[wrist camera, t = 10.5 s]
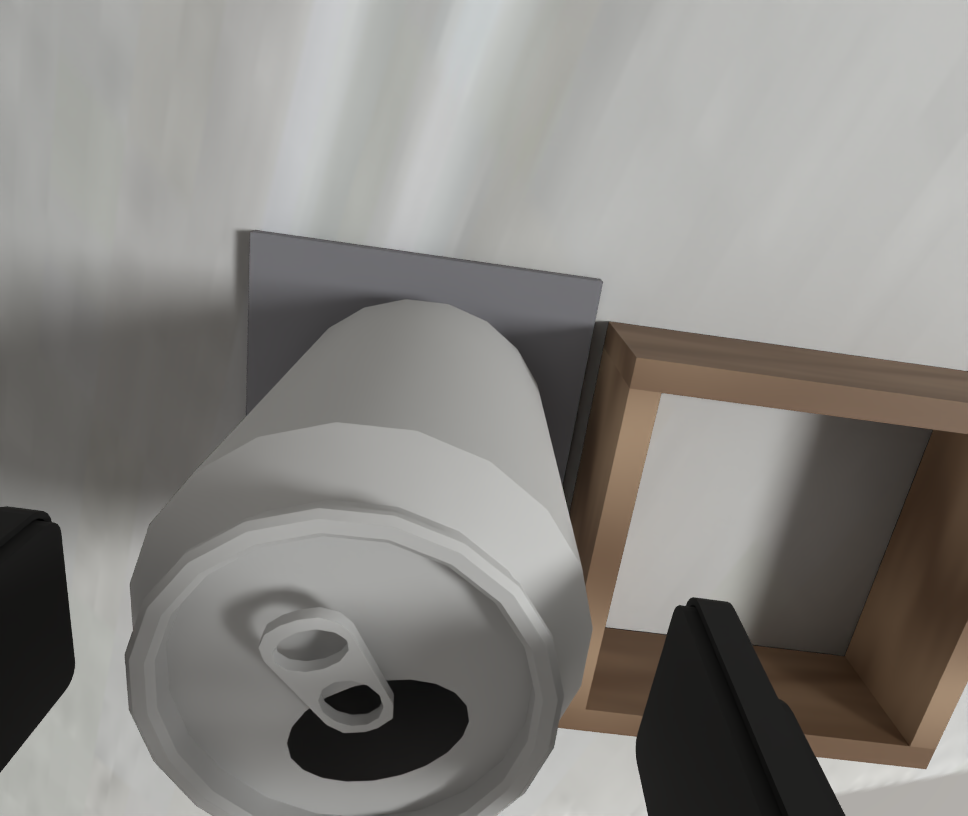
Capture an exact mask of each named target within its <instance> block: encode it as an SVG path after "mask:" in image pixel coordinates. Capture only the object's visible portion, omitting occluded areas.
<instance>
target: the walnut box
mask: <svg viewBox="0 0 968 816" xmlns="http://www.w3.org/2000/svg"><path fill="white" fill-rule="evenodd" d="M661 393H667V394H674V395H682V396H689V397H696V398H704V399H711V400H719V401H726V402H733V403H741V404H748V405H756V406H763V407H770V408H778V409H785V410H793V411H800V412H808V413H815V414H822V415H830V416H837V417H845V418H852V419H859V420H867V421H874V422H882V423H889V424H896V425H904V426H911V427H919V428H926V429H933V432H932V434H931V437H930V439H929V442H928V445H927V447H926V450H925V452H924V455H923V457H922V460H921V462H920V465H919V468H918V470H917V473H916V475H915V478H914V480H913V483H912V485H911V488H910V491H909V493H908V496H907V498H906V501H905V503H904V506H903V509H902V511H901V514H900V516H899V519H898V521H897V524H896V526H895V529H894V532H893V534H892V537H891V539H890V542H889V544H888V547H887V549H886V552H885V555H884V557H883V560H882V562H881V565H880V567H879V570H878V572H877V575H876V578H875V580H874V583H873V585H872V588H871V590H870V593H869V595H868V598H867V601H866V603H865V606H864V608H863V611H862V613H861V616H860V618H859V621H858V624H857V626H856V629H855V631H854V634H853V636H852V639H851V641H850V644H849V647H848V649H847V652H846V654H845V656H838V655H829V654H821V653H813V652H804V651H796V650H788V649H779V648H771V647H762V646H754V645H752V646H753V648H754V650H755V652H756V654H757V656H758V658H759V660H760V662H761V664H762V666H763V668H764V670H765V672H766V674H767V676H768V678H769V680H770V682H771V684H772V686H773V688H774V690H775V693H776V695H777V697H778V699H781V700H783V701H784V702H785V703H787V704H788V706H789V707H790V709H791V710H792V712H793V713H794V715H795V717H796V719H797V721H798V723H799V725H800V727H801V729H802V731H803V733H804V735H805V737H806V739H807V741H808V743H809V745H810V747H811V749H812V751H813V753H814V755H815V757H822V758H831V759H840V760H849V761H858V762H867V763H876V764H885V765H894V766H902V767H911V768H920V769H926V768H927V766H928V764H929V762H930V760H931V758H932V756H933V754H934V751H935V749H936V747H937V745H938V743H939V741H940V739H941V737H942V735H943V732H944V730H945V728H946V726H947V724H948V722H949V720H950V718H951V716H952V713H953V711H954V709H955V707H956V705H957V703H958V701H959V699H960V697H961V694H962V692H963V690H964V688H965V686H966V684H967V682H968V371H961V370H954V369H947V368H940V367H933V366H925V365H918V364H911V363H904V362H897V361H890V360H882V359H875V358H868V357H861V356H854V355H846V354H839V353H832V352H825V351H818V350H811V349H803V348H796V347H789V346H782V345H775V344H767V343H760V342H753V341H746V340H739V339H731V338H724V337H717V336H710V335H703V334H696V333H688V332H681V331H674V330H667V329H660V328H652V327H645V326H638V325H631V324H624V323H617V322H609V323H608V328H607V333H606V338H605V342H604V347H603V352H602V357H601V362H600V367H599V372H598V377H597V382H596V386H595V391H594V396H593V401H592V406H591V411H590V416H589V421H588V425H587V430H586V435H585V440H584V445H583V450H582V455H581V460H580V464H579V469H578V474H577V479H576V484H575V489H574V494H573V499H572V503H571V508H570V513H569V516H570V521H571V525H572V529H573V533H574V537H575V541H576V545H577V549H578V553H579V557H580V561H581V565H582V570H583V576H584V582H585V587H586V593H587V599H588V604H589V610H590V616H591V621H592V627H593V630H592V635H591V640H590V645H589V650H588V654H587V659H586V664H585V669H584V674H583V679H582V684H581V687H580V689H579V690H578V692H577V693H576V695H575V696H574V698H573V700H572V701H571V703H570V704H569V706H568V708H567V709H566V711H565V712H564V714H563V715H562V717H561V719H560V720H559V724H558V728H565V729H574V730H583V731H592V732H600V733H609V734H618V735H627V736H636V737H637V734H638V730H639V727H640V723H641V720H642V717H643V713H644V710H645V707H646V703H647V700H648V696H649V693H650V690H651V686H652V683H653V680H654V676H655V673H656V669H657V666H658V663H659V659H660V656H661V653H662V649H663V646H664V642H665V639H666V636H667V635H662V634H654V633H645V632H637V631H628V630H620V629H612V628H605V626H606V621H607V617H608V613H609V609H610V605H611V601H612V596H613V592H614V588H615V584H616V580H617V576H618V571H619V567H620V563H621V559H622V555H623V551H624V547H625V542H626V538H627V534H628V530H629V526H630V522H631V517H632V513H633V509H634V505H635V501H636V497H637V492H638V488H639V484H640V480H641V476H642V472H643V468H644V463H645V459H646V455H647V451H648V447H649V443H650V438H651V434H652V430H653V426H654V422H655V418H656V413H657V409H658V405H659V401H660V397H661Z"/></svg>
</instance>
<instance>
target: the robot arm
mask: <svg viewBox="0 0 968 816" xmlns="http://www.w3.org/2000/svg"><path fill="white" fill-rule="evenodd" d="M74 669H75V657H74V648H73V638H72V629H71V620H70V610H69V601H68V592H67V582H66V573H65V563H64V554H63V545H62V535H61V530H60V527H59V526H58V524H56V523H53V522H52V521H51V518H50V516H49V515H48V513H46V512H44V511H38V510H30V509H23V508H15V507H8V506H6V507H0V772H1V771H2V770H3V768H4V767H5V766H6V765H7V763H8V762H9V761H10V760H11V758H12V757H13V756H14V755H15V753H16V752H17V751H18V750H19V748H20V747H21V746H22V745H23V743H24V742H25V741H26V739H27V738H28V737H29V736H30V734H31V733H32V732H33V731H34V729H35V728H36V727H37V726H38V724H39V723H40V722H41V721H42V719H43V718H44V717H45V716H46V714H47V713H48V712H49V711H50V709H51V708H52V707H53V705H54V704H55V703H56V702H57V700H58V699H59V698H60V697H61V695H62V694H63V693H64V692H65V690H66V689H67V687H68V686H69V684H70V682H71V680H72V677H73V674H74ZM636 760H637V765H638V770H639V775H640V779H641V784H642V789H643V793H644V798H645V802H646V807H647V812H648V816H845V814H844V812H843V810H842V808H841V806H840V804H839V802H838V800H837V798H836V796H835V794H834V792H833V790H832V788H831V786H830V784H829V782H828V780H827V778H826V776H825V774H824V772H823V770H822V768H821V766H820V764H819V762H818V760H817V758H816V757H815V755H814V753H813V751H812V749H811V747H810V745H809V743H808V741H807V739H806V737H805V735H804V733H803V731H802V729H801V727H800V725H799V723H798V721H797V719H796V717H795V715H794V713H793V712H792V710H791V709H790V707H789V706H788V704H787V703H785V702H784V701H783V700H781V699H778V697H777V695H776V693H775V690H774V688H773V686H772V684H771V682H770V680H769V678H768V676H767V674H766V672H765V670H764V668H763V666H762V664H761V662H760V660H759V658H758V656H757V654H756V652H755V650H754V648H753V646H752V644H751V642H750V640H749V638H748V636H747V634H746V632H745V630H744V628H743V625H742V623H741V621H740V619H739V617H738V615H737V613H736V611H735V609H734V607H733V606H732V605H731V603H729V602H724V601H717V600H709V599H702V598H694V597H693V598H690V599H689V601H688V602H687V604H686V606H681V605H679V606H677V607H676V608H675V610H674V612H673V616H672V619H671V622H670V626H669V629H668V632H667V636H666V639H665V642H664V646H663V649H662V653H661V656H660V659H659V663H658V666H657V669H656V673H655V676H654V680H653V683H652V686H651V690H650V693H649V696H648V700H647V703H646V707H645V710H644V713H643V717H642V720H641V723H640V727H639V730H638V734H637V739H636Z"/></svg>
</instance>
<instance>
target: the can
mask: <svg viewBox="0 0 968 816" xmlns="http://www.w3.org/2000/svg"><path fill="white" fill-rule="evenodd" d="M130 595H131V609H132V623H133V632H132V634H131V637H130V640H129V643H128V646H127V649H126V652H125V665H126V678H127V691H128V704H129V711H130V713H131V715H132V717H133V719H134V721H135V723H136V725H137V728H138V730H139V732H140V734H141V736H142V738H143V740H144V742H145V744H146V746H147V748H148V751H149V753H150V755H151V757H152V759H153V761H154V762H155V763H156V764H157V765H158V766H159V767H160V768H161V769H162V770H163V772H164V773H165V774H166V775H167V776H168V777H169V778H170V779H171V780H172V781H173V782H174V783H175V784H176V785H177V786H178V787H179V788H180V789H181V790H182V791H183V793H184V794H185V795H186V796H187V797H188V798H189V799H190V800H191V801H192V802H193V803H194V804H195V805H196V806H197V807H199V808H201V809H202V810H204V811H206V812H207V813H209V814H211V815H212V816H496V815H498V814H499V813H500V812H501V811H503V810H504V809H505V808H507V807H508V806H509V805H510V804H512V803H513V802H514V801H515V800H517V799H518V798H519V797H520V796H522V795H523V794H524V793H525V792H526V790H527V789H528V787H529V786H530V784H531V783H532V781H533V779H534V778H535V776H536V775H537V773H538V772H539V770H540V769H541V767H542V765H543V764H544V762H545V761H546V759H547V758H548V756H549V754H550V753H551V751H552V750H553V748H554V745H555V740H556V734H557V729H558V724H559V720H560V719H561V717H562V715H563V714H564V712H565V711H566V709H567V708H568V706H569V704H570V703H571V701H572V700H573V698H574V696H575V695H576V693H577V692H578V690H579V689H580V687H581V684H582V679H583V674H584V669H585V664H586V659H587V654H588V650H589V645H590V640H591V635H592V630H593V627H592V621H591V616H590V610H589V604H588V599H587V593H586V587H585V582H584V576H583V570H582V565H581V561H580V557H579V553H578V549H577V545H576V541H575V537H574V533H573V529H572V525H571V521H570V516H569V512H568V508H567V504H566V500H565V496H564V492H563V488H562V484H561V480H560V476H559V471H558V467H557V463H556V459H555V455H554V451H553V447H552V443H551V439H550V435H549V431H548V426H547V422H546V418H545V414H544V410H543V406H542V402H541V398H540V394H539V390H538V386H537V383H536V381H535V379H534V378H533V376H532V374H531V372H530V370H529V369H528V367H527V365H526V363H525V362H524V360H523V358H522V356H521V354H520V353H519V351H518V349H517V348H516V347H515V346H513V345H512V344H511V343H510V342H509V341H508V340H507V339H506V338H505V337H503V336H502V335H501V334H500V333H499V332H498V331H497V330H496V329H495V328H494V327H492V326H491V325H490V324H489V323H488V322H487V321H485V320H482V319H480V318H478V317H476V316H474V315H471V314H469V313H467V312H465V311H463V310H460V309H458V308H456V307H454V306H451V305H449V304H443V303H435V302H426V301H417V300H409V299H404V300H399V301H394V302H389V303H384V304H379V305H374V306H369V307H364V308H363V309H361V310H359V311H357V312H356V313H354V314H352V315H350V316H349V317H347V318H345V319H344V320H342V321H340V322H338V323H337V324H335V325H333V326H331V327H330V328H328V329H327V330H326V332H325V333H324V334H323V335H322V336H321V337H320V338H319V339H318V340H317V341H316V342H315V343H314V344H313V345H312V347H311V348H310V349H309V350H308V351H307V352H306V353H305V354H304V355H303V356H302V357H301V358H300V359H299V360H298V362H297V363H296V364H295V365H294V366H293V367H292V368H291V369H290V370H289V371H288V372H287V373H286V374H285V375H284V376H283V378H282V379H281V380H280V381H279V382H278V383H277V384H276V385H275V386H274V387H273V388H272V389H271V390H270V391H269V393H268V394H267V395H266V396H265V397H264V398H263V399H262V400H261V401H260V402H259V403H258V404H257V405H256V406H255V408H254V409H253V410H252V411H251V412H250V413H249V414H248V415H247V416H246V417H245V418H244V419H243V420H242V421H241V422H240V424H239V425H238V426H237V427H236V428H235V429H234V430H233V431H232V432H231V433H230V434H229V435H228V436H227V437H226V439H225V440H224V441H223V442H222V443H221V444H220V445H219V446H218V447H217V448H216V449H215V450H214V451H213V452H212V454H211V455H210V456H209V457H208V458H207V459H206V460H205V461H204V462H203V463H202V464H201V465H200V466H199V467H198V469H197V470H196V471H195V472H194V473H193V474H192V475H191V476H190V477H189V479H188V480H187V481H186V482H185V483H184V484H183V486H182V487H181V488H180V489H179V490H178V491H177V493H176V494H175V495H174V496H173V497H172V499H171V500H170V501H169V502H168V503H167V504H166V506H165V507H164V508H163V509H162V510H161V511H160V513H159V514H158V515H157V516H156V517H155V518H154V520H153V521H152V522H151V523H150V524H149V527H148V530H147V533H146V536H145V539H144V542H143V545H142V548H141V551H140V554H139V557H138V560H137V563H136V566H135V570H134V573H133V576H132V579H131V582H130Z"/></svg>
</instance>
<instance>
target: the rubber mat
mask: <svg viewBox="0 0 968 816" xmlns="http://www.w3.org/2000/svg"><path fill="white" fill-rule="evenodd" d="M602 284H603V281H602V280H601V279H597V278H590V277H582V276H575V275H568V274H561V273H554V272H547V271H540V270H533V269H526V268H519V267H512V266H505V265H498V264H491V263H484V262H477V261H470V260H463V259H456V258H449V257H442V256H434V255H427V254H420V253H413V252H406V251H399V250H392V249H385V248H378V247H371V246H364V245H357V244H350V243H343V242H336V241H329V240H322V239H315V238H308V237H301V236H293V235H286V234H279V233H272V232H265V231H258V230H255V231H251V232H250V264H249V309H248V354H247V399H246V416H247V415H248V414H249V413H250V412H251V411H252V410H253V409H254V408H255V406H256V405H257V404H258V403H259V402H260V401H261V400H262V399H263V398H264V397H265V396H266V395H267V394H268V393H269V391H270V390H271V389H272V388H273V387H274V386H275V385H276V384H277V383H278V382H279V381H280V380H281V379H282V378H283V376H284V375H285V374H286V373H287V372H288V371H289V370H290V369H291V368H292V367H293V366H294V365H295V364H296V363H297V362H298V360H299V359H300V358H301V357H302V356H303V355H304V354H305V353H306V352H307V351H308V350H309V349H310V348H311V347H312V345H313V344H314V343H315V342H316V341H317V340H318V339H319V338H320V337H321V336H322V335H323V334H324V333H325V332H326V330H327V329H328V328H330V327H331V326H333V325H335V324H337V323H338V322H340V321H342V320H344V319H345V318H347V317H349V316H350V315H352V314H354V313H356V312H357V311H359V310H361V309H363V308H364V307H369V306H374V305H379V304H384V303H389V302H394V301H399V300H404V299H409V300H417V301H426V302H435V303H443V304H449V305H451V306H454V307H456V308H458V309H460V310H463V311H465V312H467V313H469V314H471V315H474V316H476V317H478V318H480V319H482V320H485V321H487V322H488V323H489V324H490V325H491V326H492V327H494V328H495V329H496V330H497V331H498V332H499V333H500V334H501V335H502V336H503V337H505V338H506V339H507V340H508V341H509V342H510V343H511V344H512V345H513V346H515V347H516V348H517V349H518V351H519V353H520V354H521V356H522V358H523V360H524V362H525V363H526V365H527V367H528V369H529V370H530V372H531V374H532V376H533V378H534V379H535V381H536V383H537V386H538V390H539V394H540V398H541V402H542V406H543V410H544V414H545V418H546V422H547V426H548V431H549V435H550V439H551V443H552V447H553V451H554V455H555V459H556V463H557V467H558V471H559V476H560V480H561V484H562V486H563V481H564V476H565V471H566V466H567V461H568V456H569V451H570V446H571V441H572V436H573V431H574V425H575V420H576V415H577V410H578V405H579V400H580V395H581V390H582V385H583V380H584V375H585V370H586V365H587V360H588V355H589V350H590V345H591V340H592V335H593V330H594V325H595V319H596V314H597V309H598V304H599V299H600V294H601V289H602Z"/></svg>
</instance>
